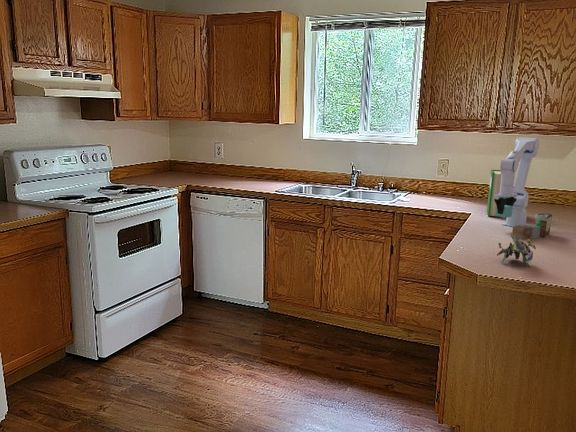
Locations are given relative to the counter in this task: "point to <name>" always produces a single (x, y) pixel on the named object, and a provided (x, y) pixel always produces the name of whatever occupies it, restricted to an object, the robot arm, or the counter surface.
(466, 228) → the counter surface
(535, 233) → the slate-grey block
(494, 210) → the hardback book
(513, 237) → the passion flower
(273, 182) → the counter surface
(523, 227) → the brass block
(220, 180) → the counter surface
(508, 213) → the teal block
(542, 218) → the food container
